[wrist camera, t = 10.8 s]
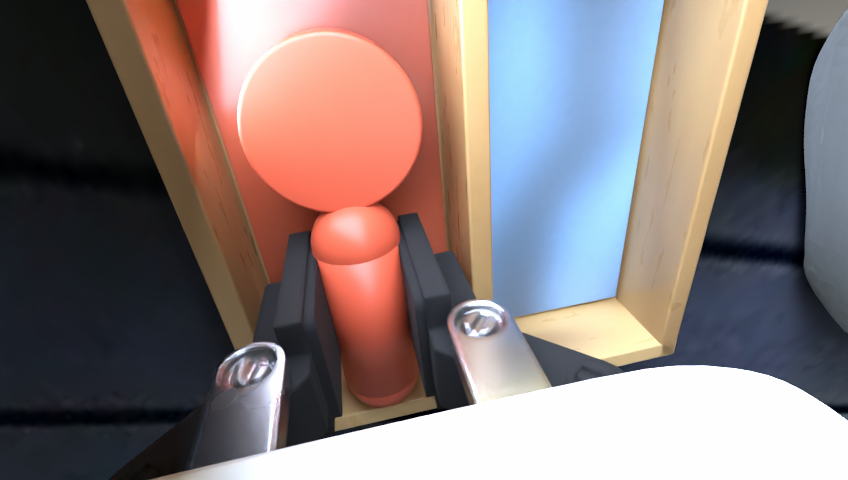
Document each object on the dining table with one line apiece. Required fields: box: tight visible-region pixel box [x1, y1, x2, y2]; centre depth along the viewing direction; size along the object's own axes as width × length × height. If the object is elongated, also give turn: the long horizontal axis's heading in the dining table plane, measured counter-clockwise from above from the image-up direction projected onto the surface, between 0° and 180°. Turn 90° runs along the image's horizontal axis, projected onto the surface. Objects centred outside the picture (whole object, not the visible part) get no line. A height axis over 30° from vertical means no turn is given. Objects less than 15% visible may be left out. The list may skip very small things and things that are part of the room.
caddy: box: [86, 0, 768, 431], centre depth 12 cm, size 13×13×3 cm
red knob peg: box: [237, 27, 423, 407], centre depth 11 cm, size 10×4×2 cm, turn 6°
